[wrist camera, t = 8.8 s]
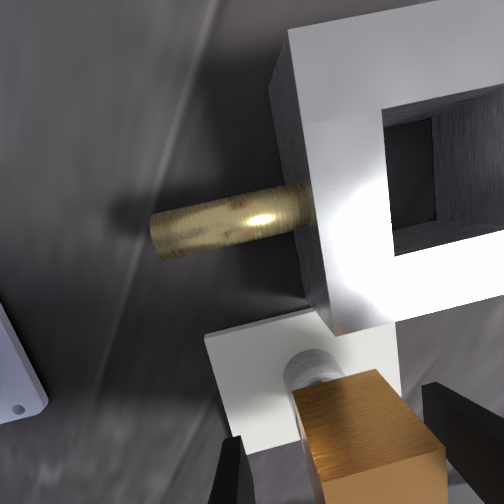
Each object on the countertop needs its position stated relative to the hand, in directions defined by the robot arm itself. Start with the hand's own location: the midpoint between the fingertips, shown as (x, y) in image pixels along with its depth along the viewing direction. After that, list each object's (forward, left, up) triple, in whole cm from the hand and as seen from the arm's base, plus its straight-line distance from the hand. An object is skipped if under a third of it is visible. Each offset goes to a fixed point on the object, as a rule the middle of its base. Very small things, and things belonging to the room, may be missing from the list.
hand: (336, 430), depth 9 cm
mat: (0, 0, -3) cm, 3 cm away
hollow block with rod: (+3, +9, -3) cm, 9 cm away
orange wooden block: (0, 0, -3) cm, 3 cm away
